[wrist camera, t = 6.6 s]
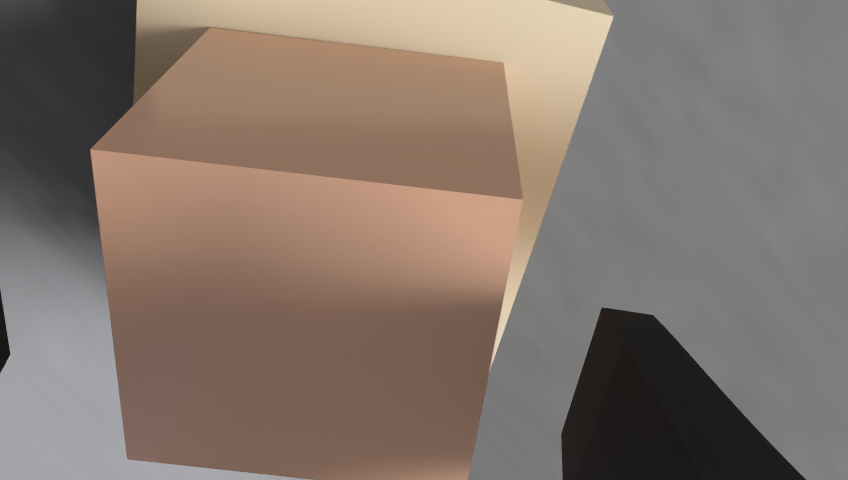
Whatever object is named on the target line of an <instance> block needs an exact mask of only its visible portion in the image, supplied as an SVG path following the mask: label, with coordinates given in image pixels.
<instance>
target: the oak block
mask: <svg viewBox="0 0 848 480" xmlns="http://www.w3.org/2000/svg"><path fill="white" fill-rule="evenodd" d="M613 17H614V16H613V15H612V13H611V11H610V10H609V8H608V6H607V4H606V3H605V1H604V0H137V15H136V43H135V70H134V98H133V105H134V104H135V103H136V102H137V101H138V100H139V99H140V98H141V97H142V96H143V95H144V94H145V93H146V92H147V91H148V90H149V89H150V88H151V87H152V86H153V85H154V84H155V83H156V82H157V81H158V80H159V79H160V78H161V77H162V76H163V75H164V74H165V73H166V72H167V71H168V70H169V69H170V68H171V67H172V66H173V65H174V64H175V63H176V62H177V61H178V60H179V59H180V58H181V57H182V56H183V55H184V54H185V53H186V52H187V51H188V50H189V49H190V48H191V47H192V46H193V45H194V44H195V43H196V42H197V40H198V39H199V38H200V37H201V36H202V35H203V34H204V33H205V32H206V31H207V30H208V29H209V28H219V29H227V30H235V31H244V32H252V33H260V34H269V35H277V36H285V37H294V38H302V39H310V40H318V41H327V42H335V43H343V44H352V45H360V46H368V47H377V48H385V49H393V50H402V51H410V52H418V53H427V54H435V55H443V56H452V57H460V58H468V59H477V60H485V61H493V62H502V63H504V70H505V77H506V84H507V91H508V98H509V105H510V112H511V119H512V126H513V133H514V140H515V147H516V154H517V161H518V168H519V175H520V182H521V189H522V196H523V203H522V208H521V213H520V218H519V223H518V228H517V233H516V238H515V243H514V248H513V253H512V258H511V264H510V269H509V274H508V279H507V284H506V289H505V294H504V299H503V304H502V309H501V314H500V319H499V324H498V329H497V335H496V340H495V345H494V350H493V355H492V360H491V365H492V363H493V360H494V357H495V354H496V351H497V348H498V345H499V343H500V340H501V337H502V334H503V331H504V328H505V325H506V323H507V320H508V317H509V314H510V311H511V308H512V305H513V303H514V300H515V297H516V294H517V291H518V288H519V285H520V283H521V280H522V277H523V274H524V271H525V268H526V265H527V263H528V260H529V257H530V254H531V251H532V248H533V245H534V243H535V240H536V237H537V234H538V231H539V228H540V225H541V222H542V220H543V217H544V214H545V211H546V208H547V205H548V202H549V200H550V197H551V194H552V191H553V188H554V185H555V182H556V180H557V177H558V174H559V171H560V168H561V165H562V162H563V160H564V157H565V154H566V151H567V148H568V145H569V142H570V140H571V137H572V134H573V131H574V128H575V125H576V122H577V120H578V117H579V114H580V111H581V108H582V105H583V102H584V100H585V97H586V94H587V91H588V88H589V85H590V82H591V80H592V77H593V74H594V71H595V68H596V65H597V62H598V60H599V57H600V54H601V51H602V48H603V45H604V42H605V39H606V37H607V34H608V31H609V28H610V25H611V22H612V19H613ZM491 365H490V368H491ZM489 371H490V370H489Z"/></svg>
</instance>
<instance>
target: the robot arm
mask: <svg viewBox="0 0 848 480" xmlns="http://www.w3.org/2000/svg"><path fill="white" fill-rule="evenodd" d="M9 356H10V350H9V343H8V337H7V330H6V324H5V317H4V311H3V305H2V298H1V292H0V372H1V371H2V369H3V367H4V365H5V363H6V361H7V359H8V358H9ZM561 439H562V470H563V480H806V479H805V478H804V477H803V476H802V475H801V474H800V473H799V472H798V471H797V470H796V469H795V468H794V467H793V466H792V465H791V464H790V463H789V462H788V461H787V460H786V459H785V458H784V457H783V456H782V455H781V454H780V453H779V452H778V451H777V450H776V449H775V448H774V447H773V446H772V445H771V444H770V442H769V441H768V440H767V439H766V438H765V437H764V436H763V435H762V434H761V433H760V432H759V431H758V430H757V429H756V428H755V427H754V426H753V424H752V423H751V422H750V421H749V420H748V419H747V418H746V417H745V416H744V415H743V414H742V413H741V411H740V410H739V409H738V408H737V407H736V406H735V405H734V404H733V403H732V402H731V400H730V399H729V398H728V397H727V396H726V395H725V394H724V393H723V392H722V391H721V389H720V388H719V387H718V386H717V385H716V384H715V383H714V382H713V380H712V379H711V378H710V377H709V376H708V375H707V374H706V373H705V371H704V370H703V369H702V368H701V367H700V366H699V365H698V364H697V362H696V361H695V360H694V359H693V358H692V357H691V356H690V355H689V353H688V352H687V351H686V350H685V349H684V348H683V347H682V346H681V345H680V343H679V342H678V341H677V340H676V339H675V338H674V337H673V336H672V335H671V333H670V332H669V331H668V330H667V329H666V328H665V327H664V326H663V325H662V324H661V323H660V322H659V321H658V320H657V319H656V318H655V317H654V316H653V315H649V314H642V313H635V312H629V311H622V310H615V309H609V308H602V309H601V312H600V315H599V318H598V321H597V325H596V328H595V331H594V334H593V337H592V340H591V343H590V346H589V349H588V353H587V356H586V359H585V362H584V365H583V368H582V371H581V374H580V378H579V381H578V384H577V387H576V390H575V393H574V396H573V399H572V402H571V406H570V409H569V412H568V415H567V418H566V421H565V424H564V427H563V430H562V434H561Z"/></svg>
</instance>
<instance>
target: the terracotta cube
mask: <svg viewBox="0 0 848 480" xmlns="http://www.w3.org/2000/svg"><path fill="white" fill-rule="evenodd" d="M90 151H91V160H92V168H93V176H94V185H95V193H96V202H97V210H98V218H99V227H100V235H101V243H102V252H103V260H104V269H105V277H106V285H107V294H108V302H109V311H110V319H111V327H112V336H113V344H114V353H115V361H116V369H117V378H118V386H119V394H120V403H121V411H122V420H123V428H124V436H125V445H126V453H127V459H130V460H139V461H148V462H158V463H167V464H176V465H185V466H194V467H203V468H213V469H222V470H231V471H240V472H249V473H259V474H268V475H277V476H286V477H295V478H305V479H314V480H468V477H469V472H470V466H471V461H472V456H473V451H474V446H475V441H476V436H477V431H478V426H479V421H480V416H481V411H482V406H483V401H484V395H485V390H486V385H487V380H488V375H489V370H490V365H491V360H492V355H493V350H494V345H495V340H496V335H497V329H498V324H499V319H500V314H501V309H502V304H503V299H504V294H505V289H506V284H507V279H508V274H509V269H510V264H511V258H512V253H513V248H514V243H515V238H516V233H517V228H518V223H519V218H520V213H521V208H522V203H523V196H522V189H521V182H520V175H519V168H518V161H517V154H516V147H515V140H514V133H513V126H512V119H511V112H510V105H509V98H508V91H507V84H506V77H505V70H504V63H502V62H493V61H485V60H477V59H468V58H460V57H452V56H443V55H435V54H427V53H418V52H410V51H402V50H393V49H385V48H377V47H368V46H360V45H352V44H343V43H335V42H327V41H318V40H310V39H302V38H294V37H285V36H277V35H269V34H260V33H252V32H244V31H235V30H227V29H219V28H209V29H208V30H207V31H206V32H205V33H204V34H203V35H202V36H201V37H200V38H199V39H198V40H197V42H196V43H195V44H194V45H193V46H192V47H191V48H190V49H189V50H188V51H187V52H186V53H185V54H184V55H183V56H182V57H181V58H180V59H179V60H178V61H177V62H176V63H175V64H174V65H173V66H172V67H171V68H170V69H169V70H168V71H167V72H166V73H165V74H164V75H163V76H162V77H161V78H160V79H159V80H158V81H157V82H156V83H155V84H154V85H153V86H152V87H151V88H150V89H149V90H148V91H147V92H146V93H145V94H144V95H143V96H142V97H141V98H140V99H139V100H138V101H137V102H136V103H135V104H134V105H133V106H132V107H131V108H130V109H129V111H128V112H127V113H126V114H125V115H124V116H123V117H122V118H121V119H120V120H119V121H118V122H117V123H116V124H115V125H114V126H113V127H112V128H111V129H110V130H109V131H108V132H107V133H106V134H105V135H104V136H103V137H102V138H101V139H100V140H99V141H98V142H97V143H96V144H95V145H94V146H93V147H92V148H91V149H90Z"/></svg>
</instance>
